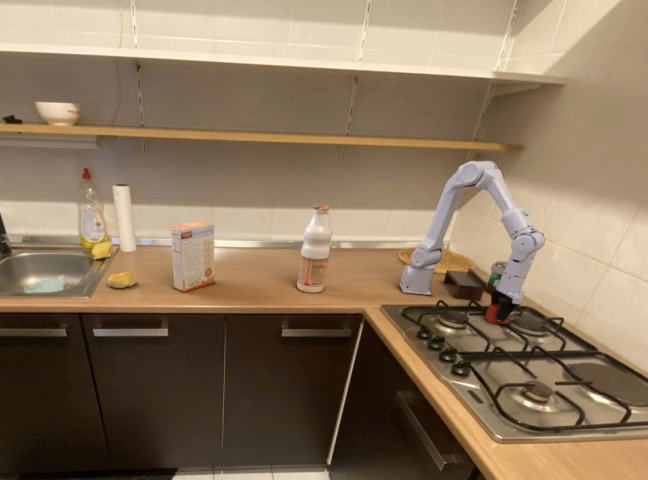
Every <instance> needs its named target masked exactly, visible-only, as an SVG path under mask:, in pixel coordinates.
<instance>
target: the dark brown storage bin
mask: <svg viewBox="0 0 648 480" xmlns="http://www.w3.org/2000/svg"><path fill="white" fill-rule="evenodd" d="M442 283H443V284H447V285H456V286H457V289H456V291H455V295H454V298H455V299H458V300H467V301H476V302H477V301H478V302H480V301H481V300H482V297H483V295H484V292H485V291H486V288H487V285H488V282H487V281H485V279H483V277H481V276H480V275H479V274H478V273H477V272H476V271H475V270H474V269H473V268H472V267H468V269H467V271H462V270H452V269H451V270H450V269H446V272H445V275H444V278H443V281H442Z"/></svg>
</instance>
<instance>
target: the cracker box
mask: <svg viewBox="0 0 648 480" xmlns="http://www.w3.org/2000/svg"><path fill="white" fill-rule="evenodd" d="M170 239H171V241H170V242H171V255H172V256H171V257H172V272H173V273H172V274H173V288H174V289H175V290H178V291H181V292H183V293H186V292H189V291H192V290H195V289H198V288H201V287H204V286H208V285H211V284H214V283H215V223H214V222H213V223H212V222H209V221H207V220H201V221H196V222H190V223H183V224H178V225H173V226H170Z"/></svg>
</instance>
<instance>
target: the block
mask: <svg viewBox="0 0 648 480" xmlns="http://www.w3.org/2000/svg"><path fill="white" fill-rule="evenodd" d="M498 309H499V305H498V304H491V303H489V305H488V308H487V310H486V312H485V314H484V318H485V319H486V320H487V321H488V322H489V323H490V324H498V325H507V324H508V321H509V319H510V317H511V314H512V312H511V313H510V314H509V316H508V317H507V318H506V319H505V320H504V321H496V320H495V319H496V317H497V312H498ZM486 314H487V315H488V316H487V315H486ZM507 320H508V321H507ZM505 321H507V322H505Z"/></svg>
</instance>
